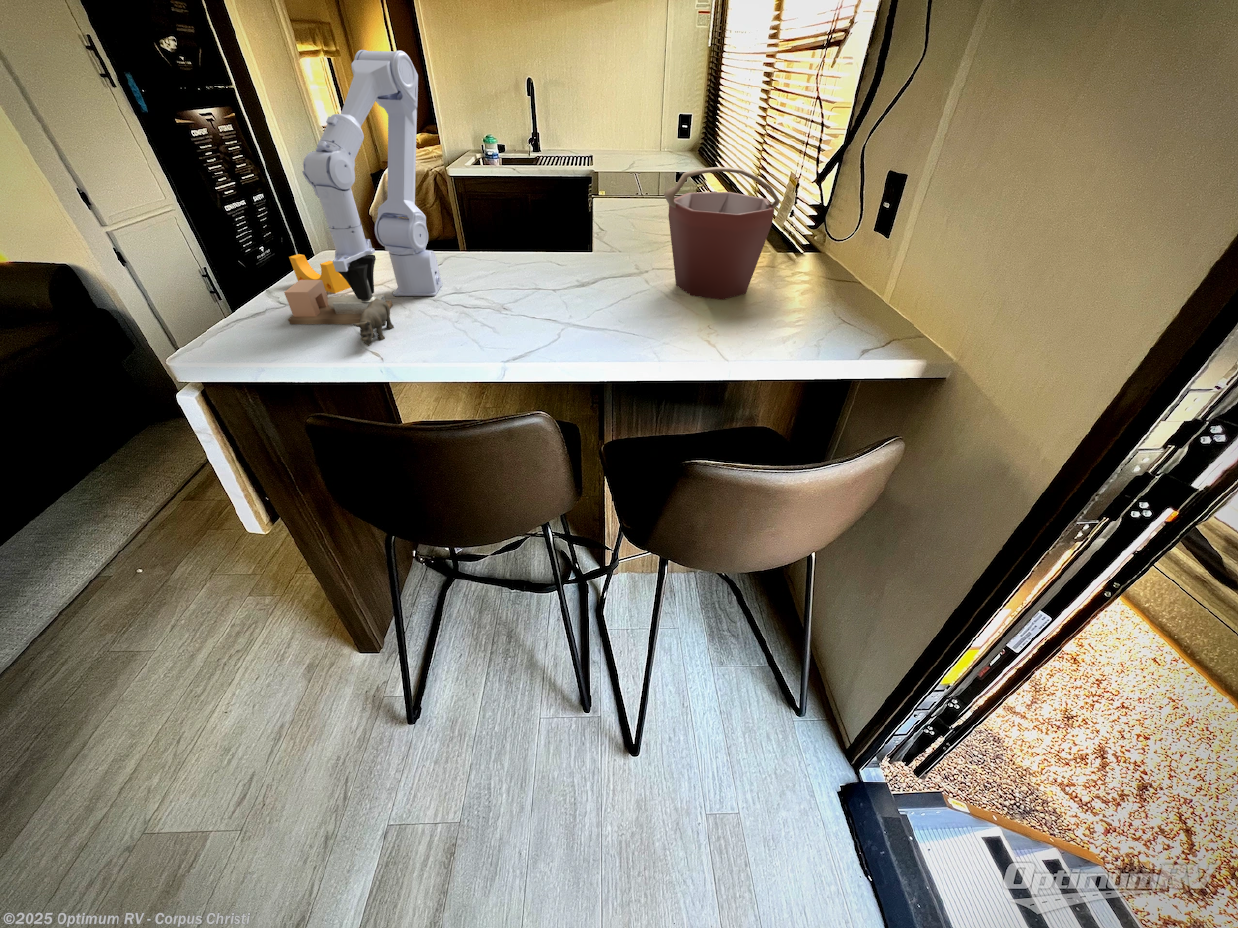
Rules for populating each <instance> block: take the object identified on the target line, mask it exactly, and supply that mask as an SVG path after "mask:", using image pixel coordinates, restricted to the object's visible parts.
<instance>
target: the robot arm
mask: <svg viewBox="0 0 1238 928" xmlns="http://www.w3.org/2000/svg"><path fill="white" fill-rule="evenodd" d="M354 55H355V56H354V60H353V61H352V62H351V63H350V65H351V71H352V72H351V73H352V74H353V76H352V79H351V83H350V86H349V89H348V91H347V95H346V98H345V101H344V104H343V106H342V110H341V113H336V114H335V113H334V114H332V115H330V116H328V117H327V119H326V121H325V122H326V126H325V128H324V131H323V133H322V136H321V137H320V139H319V140H318V142H317V144H316V148H315V150H313V151H310V152H308V153H307V154H306V156H305V157H304V159H303V164H302V165H303V170H302V175H303V176H304V179H305V181H306V182H307V183H308V184H309V185H310V186H311V187H312V188H313V191H314V194H315V196H317V198H318V200H319V202H320V204H321V205H320V206H321V207H322V211H323V214H324V216H325V217H324V218H325V221H326V224H327V227H328V229H329V233H330V235H331V239H332V243H333V245H334V248H335V251H334V259H333V260H332V261H333V264H334V267H335V270H336V272H339V273H340V274H341V275H342V276H343V277H344V278H345V280H346V281H347V282H348V284H349V285H350V287H351V288H350V289H351V290H352V292H353V293H354V295H356V297H357V298H358V299H369V290H368V284H367V279H368V282H369V285H370V289H371V292H372V295H374V294H375V283H374V280H375V279H374V278H375V277H374V273H375V272H374V271H375V270H374V269H375V264H376V260H377V259H376V258H377V257H376V256H375V254H374V253H376V250H375V248H373V246H372V242H371V239H370V238H366V237H365V233H364V230H363V226H362V222H361V219H360V214H359V212H358V209H357V204H356V202H355V198H354V194H353V190H352V187H353V185H354V184H355V181H356V172H355V166H356V161H355V160H356V157H357V155H358V153H359V150H361V149H360V148H361V146H362V144H363V142H364V139H365V135H364V132H363V130H362V125H363V124H364V122H365V121H366V119H367V117H368V115H369V114H370V111H371V110H372V108H373V106H374V105H375V103H377V105H378V106H380V107H381V108H382V109H384V111H385V112H386V114H387V118H388V119H387V125H388V126H387V198H386V200H385V201H383V203H382V204H381V205H379V206H378V208H377V218H376V220H375V223H374V234H375V238H376V240H377V242H378V243H379V244H380V245H381V246H383V247H384V250H385V252H388V255H389V258H390V263H391V267H392V270H393V274H394V278H395V282H396V286H397V288H396V289H395V290H394V291H393V292H392V295H393V297H395V296H396V297H400V296H403V297H404V296H407V297H410V296H411V297H413V296H414V297H416V296H418V297H422V296H428V297H429V296H430V297H431V296H433V297H434V296H436V295H437V293H438V292H439V290H440V288H441V287H442V285H443V284H444V283H443V282H442V279H441V273H440V269H439V263H438V258H437V256H436V252H435V251H434V250H428V249H426V248H427V244H428V242H429V232H428V228H427V216H426V215H425V214H424V212H423V211H422V210H421V209H420V208H418V206H417V205H416V170H417V169H416V167H417V166H416V164H417V162H416V161H417V127H418V126H417V123H418V122H417V121H418V120H417V119H418V98H419V97H418V94H419V93H418V92H419V87H418V86H419V74H418V72H417V70H416V67H415V66H414V64H413V61H412V60H411V57H410V56H409V55H408V54H407V53H406V52H405V51H403V50H395V51H390V50H389V51H388V50H387V51H385V50H382V51H381V50H380V51H379V50H366V49H360V50H358V51H357V52H356V53H355V54H354Z"/></svg>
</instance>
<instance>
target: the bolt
mask: <svg viewBox="0 0 1238 928" xmlns="http://www.w3.org/2000/svg"><path fill="white" fill-rule="evenodd" d="M367 284H368V290H369V299H358V298H357V297H340V296H328V305H329V307H330V308H331V309H334V306H333V303H334V302H371V301H373V300H375V299H376V297H373V296H372V295H373V294H372V292H371V289H370V285H369V282H368V279H367Z"/></svg>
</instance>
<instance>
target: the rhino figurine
mask: <svg viewBox="0 0 1238 928" xmlns="http://www.w3.org/2000/svg"><path fill="white" fill-rule="evenodd" d="M385 301H386V300H385ZM385 301H383V300H380V299H377V298H376V299H375V300H373V301H371V302H370V303H369V304H368V307H367V308H366V309H365V310H364V311H363V313H362V314H361V317H360V323H356V324H354V323H353V324H352V325H353V326H354V327H357V328H359V329H360V340H361V341H362V342H363V344H364V345H365V346H367V347H368V346H369V347H370V345H372V344H373V343H372V341H373V339H374V338H375V337H377V340H381V341H384V340H385V339H386V336H385V335H384V334H383V332H382V330H383V326H385V327H386V329H387V330H391V329H393V328H394V326H395V325H394V324H393V323H392V321H391V315H390V314H391V308H390V309H389V306H388V304H387V303H386V302H385ZM374 330H376V331H374ZM375 332H376V334H377V336H376V334H375Z"/></svg>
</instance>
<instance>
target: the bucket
mask: <svg viewBox="0 0 1238 928" xmlns="http://www.w3.org/2000/svg"><path fill="white" fill-rule="evenodd" d="M717 172H718V173H721V172H722V173H734V174H741V175H742V176H744V177H747V178H749V179H751V180H753V181H755V182H756V183H758V184H759V185H761V186H762V187H763V188H766V189H767V190H768V192H769V193H770V194H771V196H772V198H773V199H774V201H772V202H770V201H769V199H768V198H764V197H759V196H753V195H749V194H742V193H736V192H732V191H714V192H713V191H711V192H710V191H706V192H705V191H702V192H687V193H684V194H682V195H679V196H678V197H677V196H676V195H677V194H678V193H679V192H680V190H681V189H682V187H684V185H685V183H686V181H687V180H688V178H691V177H694V176H699V175H703V174H704V175H705V174H710V173H717ZM663 196H664V198H665V201H666V202H667V204H668V222H669V223H668V224H669V231H670V232H669V233H670V241H671V250H672V260H673V267H674V268H673V271H674V277H675V286H677V287H678V288H679V289H680V290H682V291H683V292H684V293H686V294H688V296H691V297H696V298H697V297H698V298H705V299H706V298H707V299H714V300H721V301H722V300H727V299H730V298H735V297H739V296H742V295H744V294H747V293H748V289H749V286H750V283H751V281H752V279H753V278H752V277H753V276H754V273H755V270H756V267H757V265H758V261H759V259H760V257H761V254H762V252H763V249H764V246H765V244H766V240H767V238H768V235H769V233H770V231H771V228H772V225H773V219H774V214H775V208H777V207H778V206H779V204H780V199H779V197H778V195H777V194H776V192H775V190H774V189H773V187H771V185H770V184H769V183H767V182H766V181H764V180H762V178H760V177H759V176H757V175H754V174H753V173H750V172H749V171H747V170H744V169H742V168H737V167H727V166H726V167H725V166H714V167H712V166H711V167H703V168H699V169H693V170H689V171H685V172H683V173H682V175H681V176H680V178H679V180H678V181H677V183H676V184H675V185H674V186H673V187H669V188H668V189H667V190H666V191H665V192H664V193H663ZM675 196H676V197H675Z"/></svg>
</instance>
